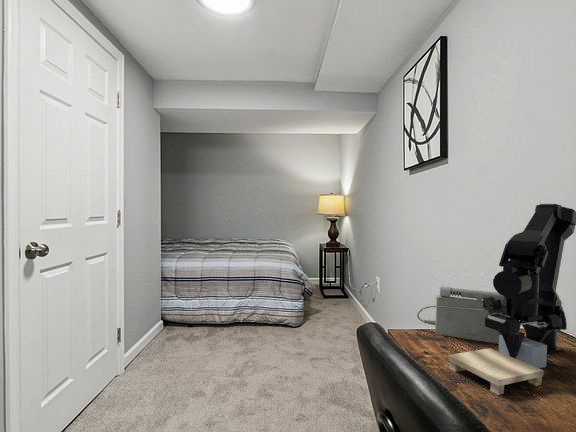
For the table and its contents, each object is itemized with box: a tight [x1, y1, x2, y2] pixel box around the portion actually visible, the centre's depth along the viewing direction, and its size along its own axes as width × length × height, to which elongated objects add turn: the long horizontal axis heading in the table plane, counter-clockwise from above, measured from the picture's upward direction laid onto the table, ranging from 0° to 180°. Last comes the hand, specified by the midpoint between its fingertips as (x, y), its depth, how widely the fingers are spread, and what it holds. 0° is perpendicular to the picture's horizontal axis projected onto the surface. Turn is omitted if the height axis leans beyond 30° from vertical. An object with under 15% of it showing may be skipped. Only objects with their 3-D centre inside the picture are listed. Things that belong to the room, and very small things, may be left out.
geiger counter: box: [416, 285, 510, 345], centre depth 96 cm, size 14×6×25 cm
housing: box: [498, 335, 548, 369], centre depth 81 cm, size 8×5×6 cm, turn 21°
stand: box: [447, 347, 544, 396], centre depth 73 cm, size 13×12×3 cm
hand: (521, 356), depth 81 cm, fingers open, 6 cm apart
